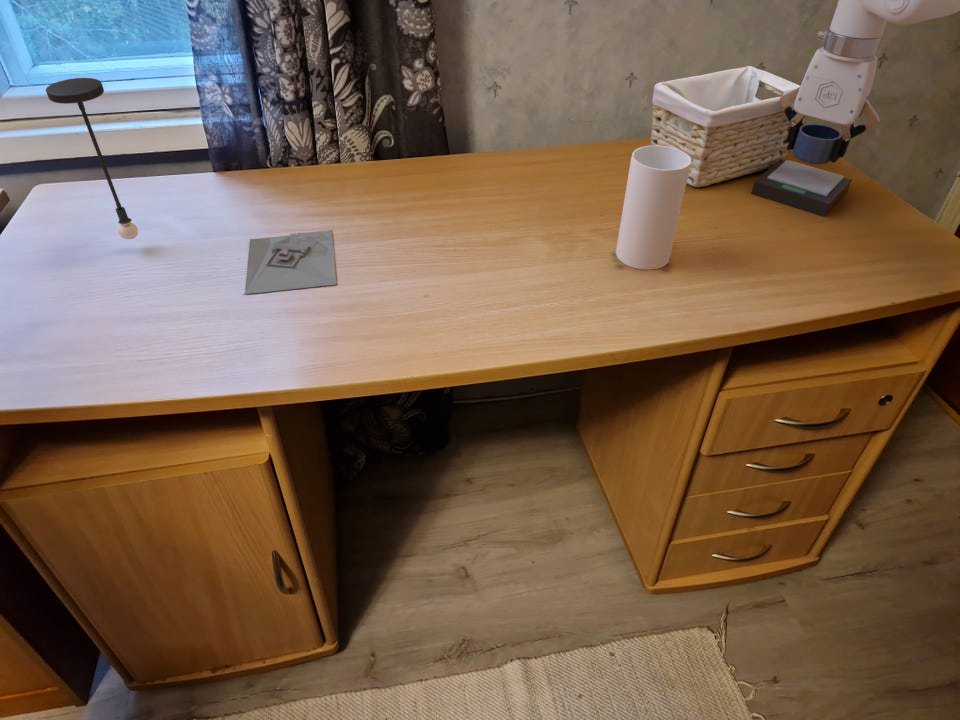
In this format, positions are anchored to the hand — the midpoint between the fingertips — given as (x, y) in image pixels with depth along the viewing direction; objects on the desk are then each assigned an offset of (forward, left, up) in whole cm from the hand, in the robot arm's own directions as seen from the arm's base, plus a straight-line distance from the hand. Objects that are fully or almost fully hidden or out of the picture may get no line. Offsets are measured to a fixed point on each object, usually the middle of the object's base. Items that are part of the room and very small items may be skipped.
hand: (813, 152), depth 117 cm
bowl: (0, 0, -1) cm, 1 cm away
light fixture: (+72, +88, -7) cm, 114 cm away
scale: (0, +1, -7) cm, 7 cm away
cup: (+11, +38, -7) cm, 40 cm away
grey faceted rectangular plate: (+56, +73, -7) cm, 92 cm away
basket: (+17, 0, -7) cm, 19 cm away
